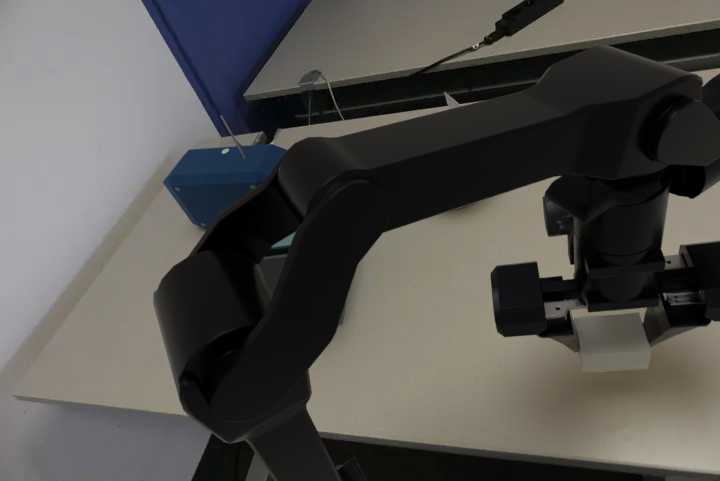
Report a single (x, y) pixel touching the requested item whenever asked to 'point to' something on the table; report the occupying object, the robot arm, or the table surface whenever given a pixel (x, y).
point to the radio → (219, 177)
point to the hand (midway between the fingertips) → (610, 345)
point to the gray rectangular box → (612, 343)
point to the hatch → (272, 268)
